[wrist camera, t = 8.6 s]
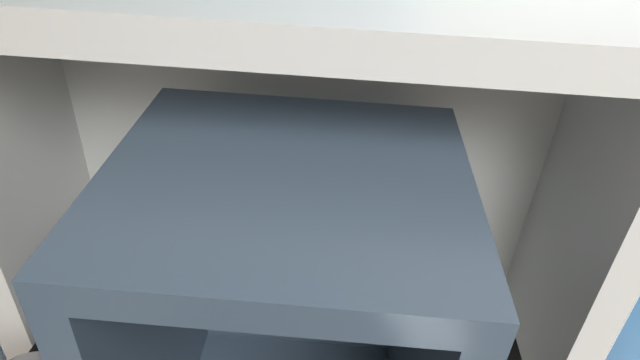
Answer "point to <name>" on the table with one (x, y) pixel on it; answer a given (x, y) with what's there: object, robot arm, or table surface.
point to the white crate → (360, 86)
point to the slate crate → (274, 239)
